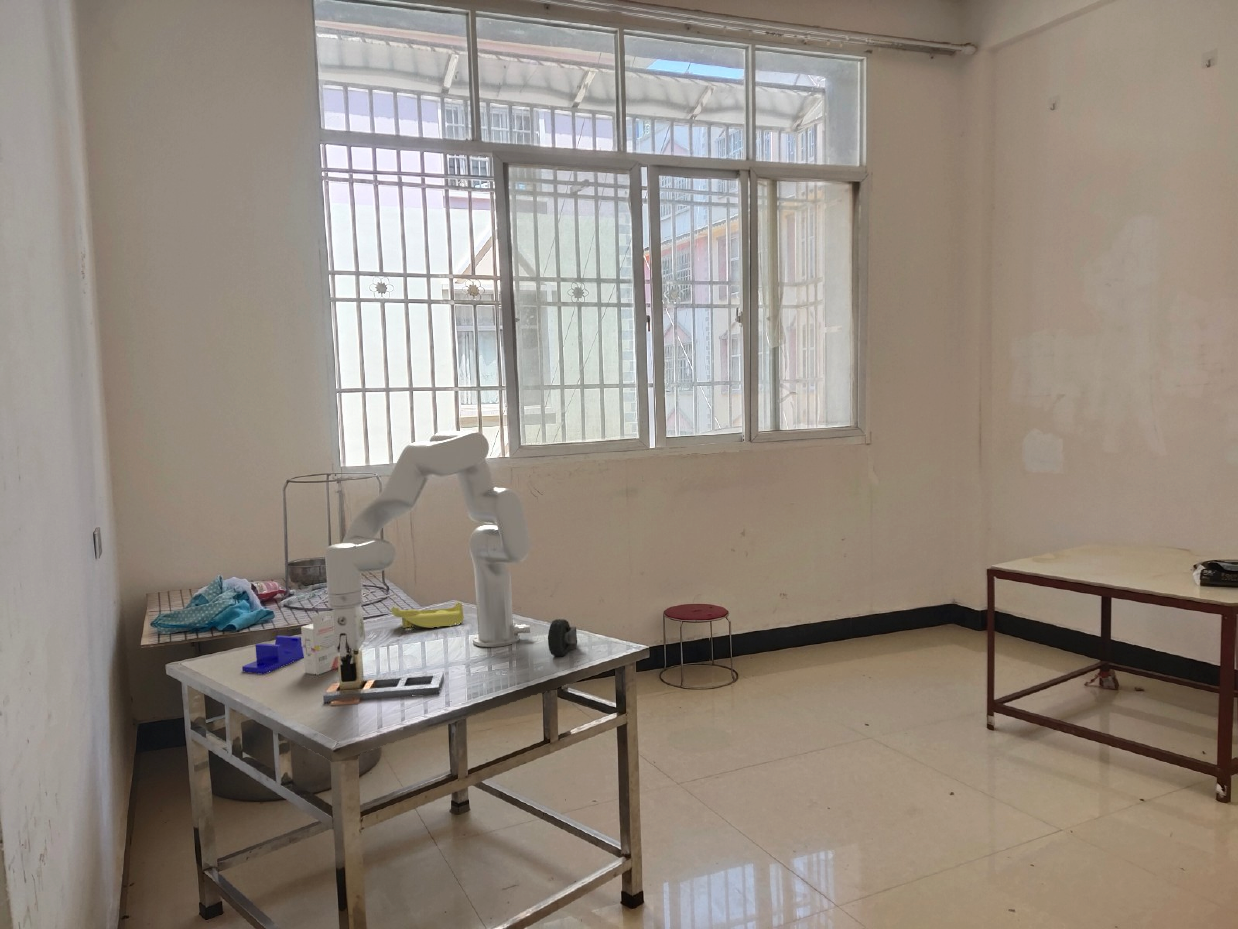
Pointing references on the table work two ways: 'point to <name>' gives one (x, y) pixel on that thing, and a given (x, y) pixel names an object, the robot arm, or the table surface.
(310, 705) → the table surface
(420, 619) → the plastic component
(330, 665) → the ink cartridge box
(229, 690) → the table surface
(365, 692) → the rail frame
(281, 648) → the mounting bracket
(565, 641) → the caster wheel
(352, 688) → the brass block
